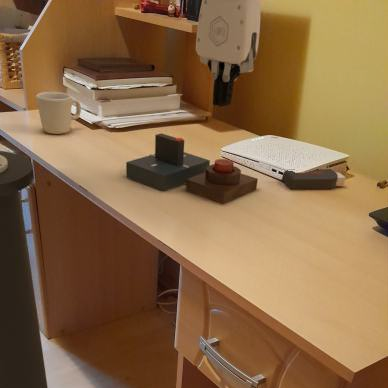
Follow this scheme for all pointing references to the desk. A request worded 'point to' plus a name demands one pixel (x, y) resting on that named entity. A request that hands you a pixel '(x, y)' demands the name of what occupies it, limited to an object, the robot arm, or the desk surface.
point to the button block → (221, 184)
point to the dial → (169, 149)
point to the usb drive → (313, 179)
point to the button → (223, 166)
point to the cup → (56, 111)
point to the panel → (165, 170)
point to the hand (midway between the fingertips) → (221, 104)
